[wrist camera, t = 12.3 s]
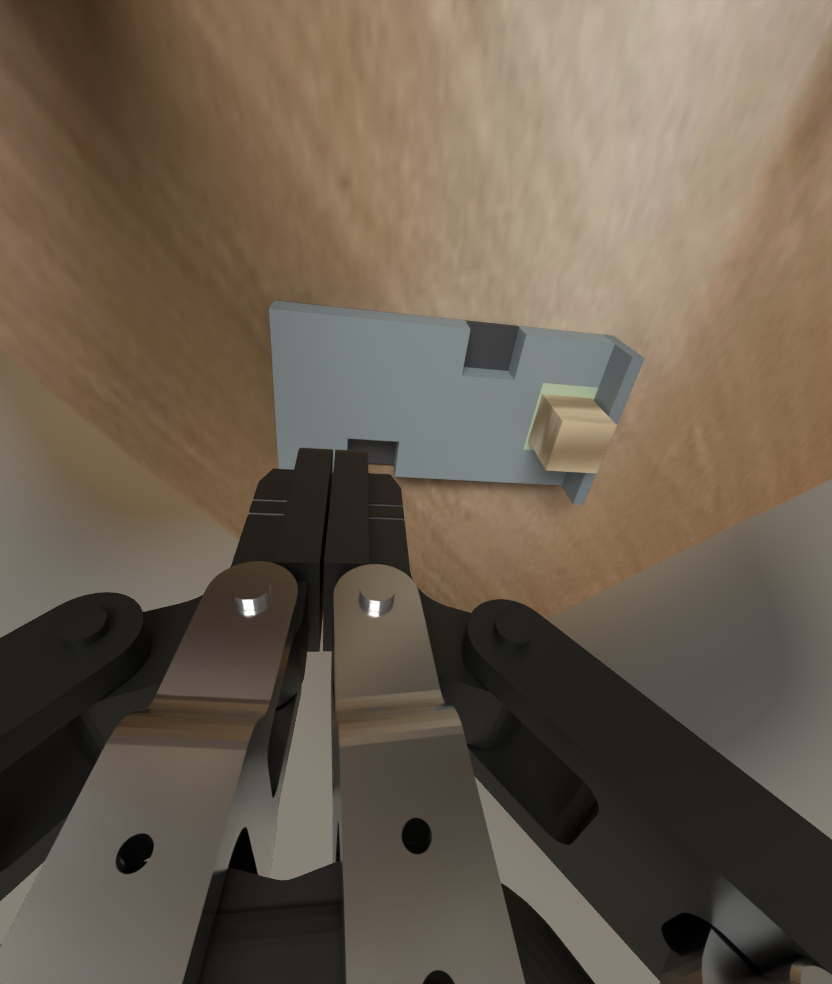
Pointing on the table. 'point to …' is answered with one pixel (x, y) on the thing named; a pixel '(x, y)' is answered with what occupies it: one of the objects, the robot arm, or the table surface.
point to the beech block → (571, 434)
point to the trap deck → (435, 390)
